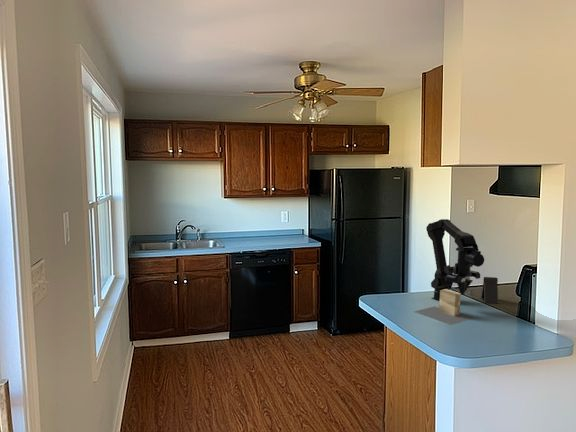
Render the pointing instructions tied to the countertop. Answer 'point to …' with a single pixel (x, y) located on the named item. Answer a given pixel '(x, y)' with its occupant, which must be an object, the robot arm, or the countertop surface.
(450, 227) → the robot arm
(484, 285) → the phone stand
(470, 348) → the countertop surface
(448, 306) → the maple block
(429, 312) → the mat
